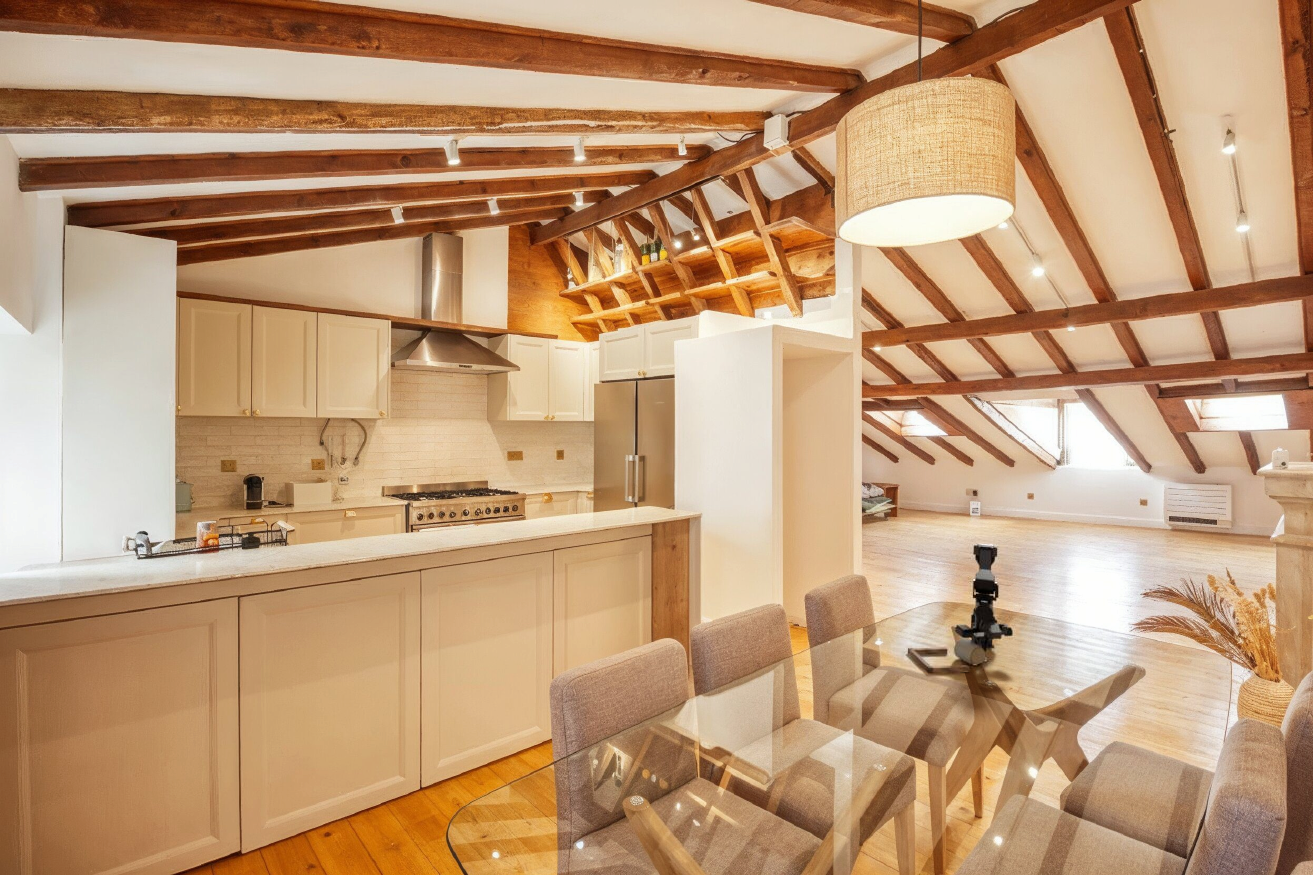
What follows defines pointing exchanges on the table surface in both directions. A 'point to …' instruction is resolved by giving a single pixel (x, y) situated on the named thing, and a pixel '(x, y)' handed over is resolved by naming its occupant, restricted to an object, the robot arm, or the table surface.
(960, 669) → the walnut corral
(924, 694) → the table surface
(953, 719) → the table surface
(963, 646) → the ceramic mug
